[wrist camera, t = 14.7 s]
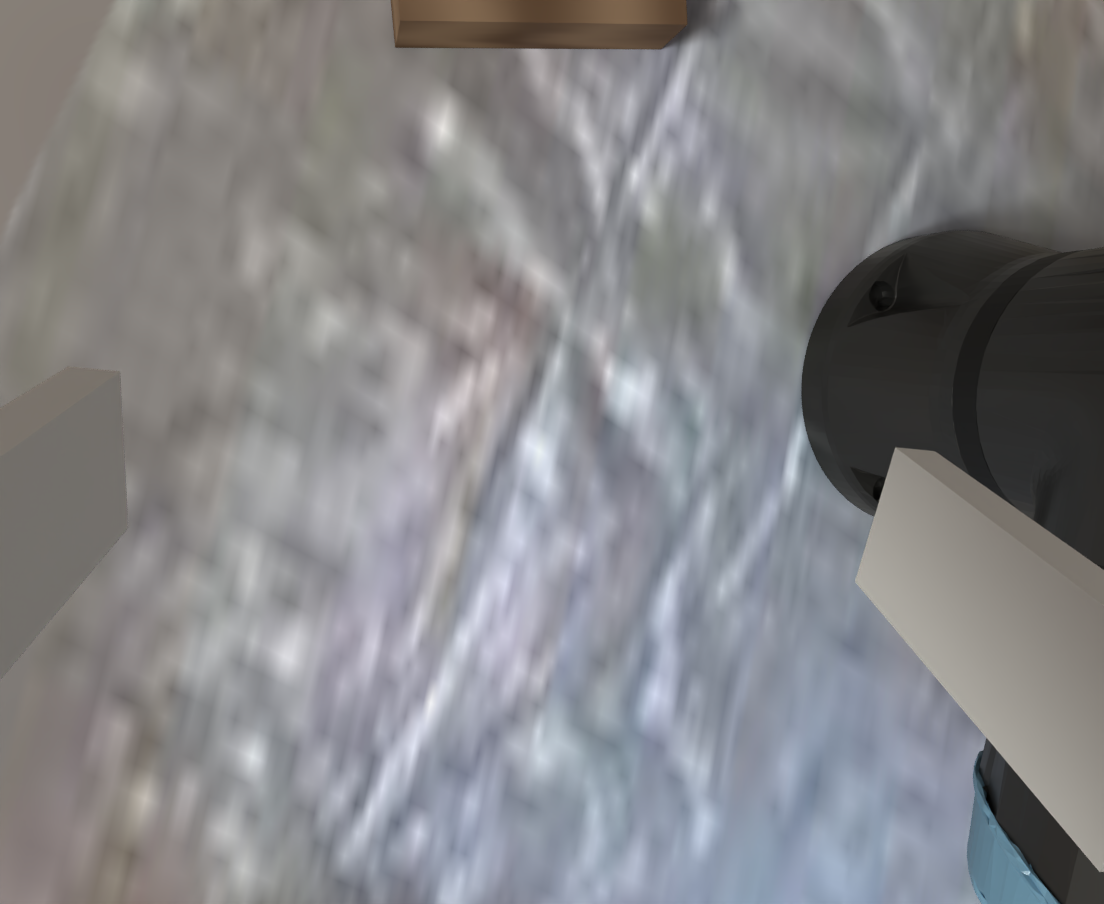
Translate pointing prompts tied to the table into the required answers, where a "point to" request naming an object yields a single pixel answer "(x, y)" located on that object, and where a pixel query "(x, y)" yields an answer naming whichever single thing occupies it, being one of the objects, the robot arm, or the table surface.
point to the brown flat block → (537, 23)
